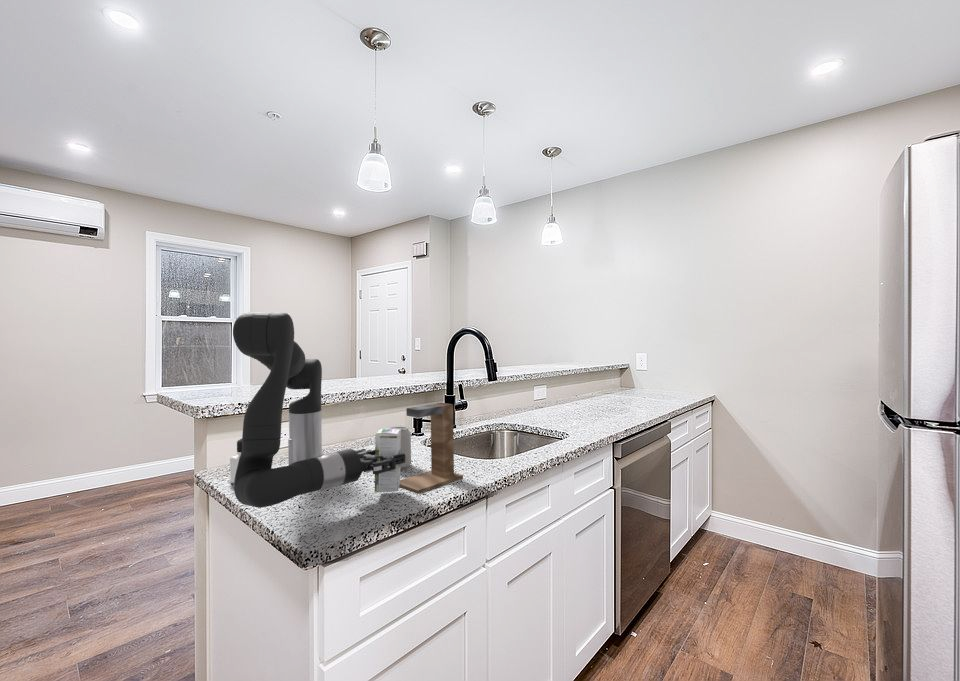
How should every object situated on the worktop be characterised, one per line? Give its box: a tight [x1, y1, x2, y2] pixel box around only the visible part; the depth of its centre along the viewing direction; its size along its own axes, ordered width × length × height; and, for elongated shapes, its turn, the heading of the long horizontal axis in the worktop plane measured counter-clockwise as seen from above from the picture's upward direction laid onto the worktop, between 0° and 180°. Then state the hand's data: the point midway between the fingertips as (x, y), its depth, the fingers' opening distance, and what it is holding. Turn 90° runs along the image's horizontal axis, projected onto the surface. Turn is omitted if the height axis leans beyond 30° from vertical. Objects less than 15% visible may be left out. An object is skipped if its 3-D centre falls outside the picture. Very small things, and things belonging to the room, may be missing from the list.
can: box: [388, 425, 412, 471], centre depth 132 cm, size 8×8×12 cm
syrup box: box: [374, 428, 401, 493], centre depth 108 cm, size 6×6×14 cm
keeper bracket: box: [399, 402, 464, 494], centre depth 118 cm, size 16×10×20 cm, turn 138°
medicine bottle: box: [229, 438, 243, 484], centre depth 120 cm, size 7×7×12 cm
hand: (394, 454), depth 110 cm, fingers closed on syrup box, 8 cm apart
